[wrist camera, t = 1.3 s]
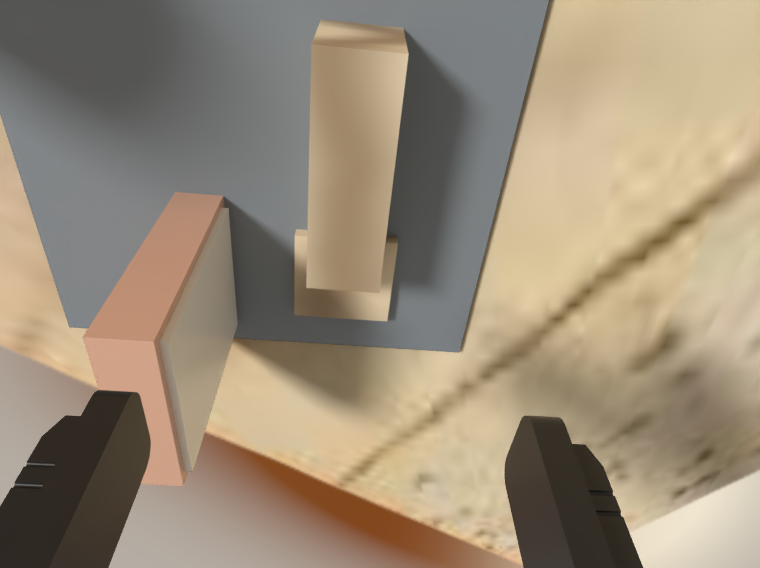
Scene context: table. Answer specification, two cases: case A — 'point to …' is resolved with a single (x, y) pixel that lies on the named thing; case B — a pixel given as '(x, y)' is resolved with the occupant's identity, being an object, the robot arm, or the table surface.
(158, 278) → the tile
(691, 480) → the table surface
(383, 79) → the beige pillar on base
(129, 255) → the mat
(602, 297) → the table surface
